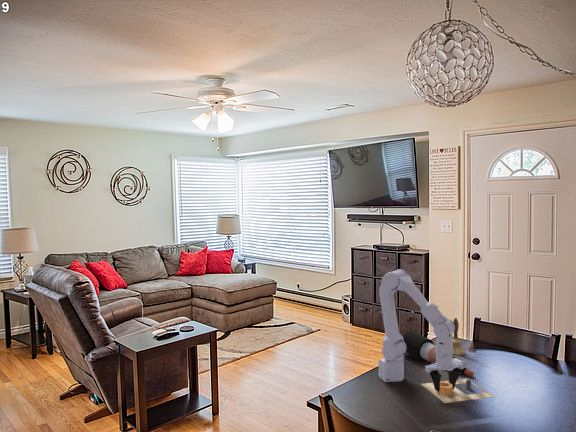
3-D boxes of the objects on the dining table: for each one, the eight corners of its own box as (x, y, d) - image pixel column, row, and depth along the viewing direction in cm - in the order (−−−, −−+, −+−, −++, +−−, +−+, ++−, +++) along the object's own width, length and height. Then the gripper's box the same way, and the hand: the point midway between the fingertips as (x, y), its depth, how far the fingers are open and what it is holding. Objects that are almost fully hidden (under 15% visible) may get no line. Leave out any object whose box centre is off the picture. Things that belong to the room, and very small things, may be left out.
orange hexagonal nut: (441, 395, 156) (441, 388, 156) (433, 389, 162) (433, 382, 162) (455, 393, 158) (455, 386, 158) (446, 387, 163) (446, 380, 163)
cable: (466, 392, 172) (460, 373, 168) (405, 356, 201) (398, 339, 198) (482, 376, 175) (477, 357, 172) (419, 343, 205) (414, 326, 201)
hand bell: (468, 355, 199) (468, 320, 199) (450, 355, 199) (450, 321, 198) (460, 348, 208) (460, 315, 207) (443, 349, 207) (443, 316, 207)
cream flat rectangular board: (444, 406, 151) (444, 393, 151) (420, 387, 166) (420, 375, 166) (494, 399, 155) (494, 387, 155) (466, 381, 171) (466, 370, 171)
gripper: (432, 358, 154) (432, 396, 154) (468, 354, 157) (468, 391, 157) (422, 351, 161) (422, 388, 161) (456, 348, 164) (456, 383, 164)
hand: (444, 389), depth 160 cm, fingers closed on orange hexagonal nut, 5 cm apart
